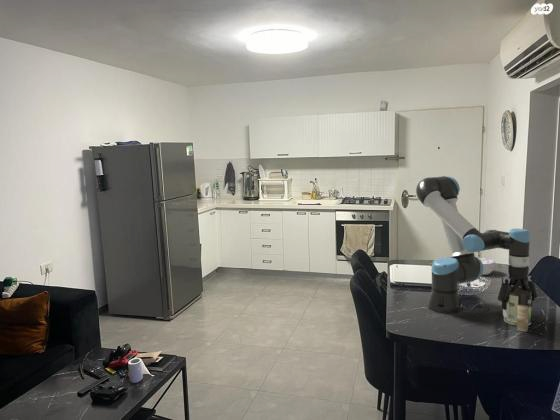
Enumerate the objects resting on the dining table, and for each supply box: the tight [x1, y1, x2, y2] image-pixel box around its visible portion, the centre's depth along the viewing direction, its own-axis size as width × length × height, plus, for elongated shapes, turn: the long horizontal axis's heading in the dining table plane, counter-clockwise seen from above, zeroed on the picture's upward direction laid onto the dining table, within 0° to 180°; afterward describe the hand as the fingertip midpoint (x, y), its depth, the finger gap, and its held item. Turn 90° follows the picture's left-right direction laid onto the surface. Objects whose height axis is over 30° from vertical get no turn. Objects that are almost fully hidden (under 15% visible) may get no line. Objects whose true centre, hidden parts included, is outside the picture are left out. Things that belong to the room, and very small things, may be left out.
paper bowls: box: [478, 257, 496, 276], centre depth 251 cm, size 15×15×8 cm
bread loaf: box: [516, 305, 529, 333], centre depth 169 cm, size 4×4×10 cm
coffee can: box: [503, 287, 532, 327], centre depth 177 cm, size 10×10×14 cm
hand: (516, 315), depth 178 cm, fingers closed on coffee can, 10 cm apart
